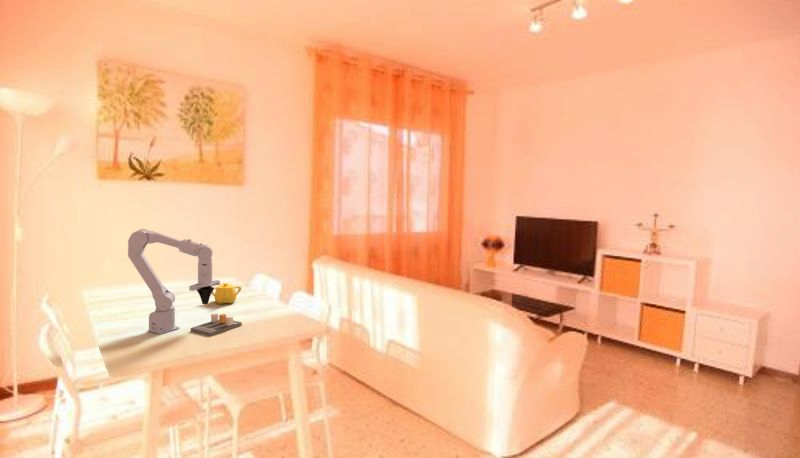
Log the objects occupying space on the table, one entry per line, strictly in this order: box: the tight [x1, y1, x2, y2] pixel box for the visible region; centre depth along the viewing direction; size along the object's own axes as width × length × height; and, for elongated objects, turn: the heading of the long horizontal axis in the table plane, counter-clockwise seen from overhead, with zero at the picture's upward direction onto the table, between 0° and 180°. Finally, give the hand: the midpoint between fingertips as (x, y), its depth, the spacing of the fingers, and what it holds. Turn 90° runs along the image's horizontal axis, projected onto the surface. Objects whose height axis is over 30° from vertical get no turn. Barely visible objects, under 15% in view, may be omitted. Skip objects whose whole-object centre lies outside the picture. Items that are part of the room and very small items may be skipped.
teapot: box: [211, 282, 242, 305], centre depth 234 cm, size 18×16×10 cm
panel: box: [190, 312, 243, 337], centre depth 193 cm, size 17×12×5 cm
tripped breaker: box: [218, 313, 227, 323], centre depth 195 cm, size 2×2×4 cm
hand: (205, 303), depth 193 cm, fingers closed
